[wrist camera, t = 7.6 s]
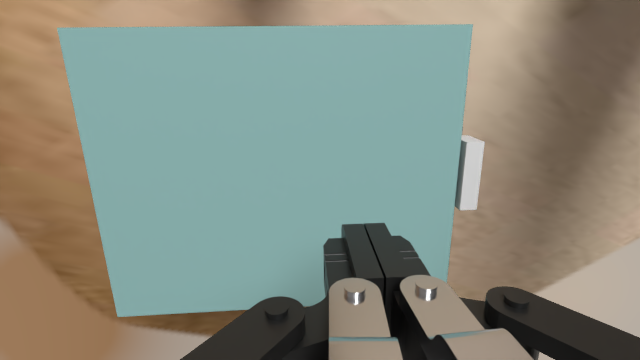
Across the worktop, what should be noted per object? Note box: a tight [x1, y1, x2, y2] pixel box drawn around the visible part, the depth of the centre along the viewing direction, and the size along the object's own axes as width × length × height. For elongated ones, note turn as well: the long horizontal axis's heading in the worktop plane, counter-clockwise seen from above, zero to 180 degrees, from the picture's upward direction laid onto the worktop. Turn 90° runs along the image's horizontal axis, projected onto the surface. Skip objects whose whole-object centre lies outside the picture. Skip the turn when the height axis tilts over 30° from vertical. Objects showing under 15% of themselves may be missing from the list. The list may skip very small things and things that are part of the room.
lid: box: [57, 24, 485, 317], centre depth 21 cm, size 21×16×2 cm
